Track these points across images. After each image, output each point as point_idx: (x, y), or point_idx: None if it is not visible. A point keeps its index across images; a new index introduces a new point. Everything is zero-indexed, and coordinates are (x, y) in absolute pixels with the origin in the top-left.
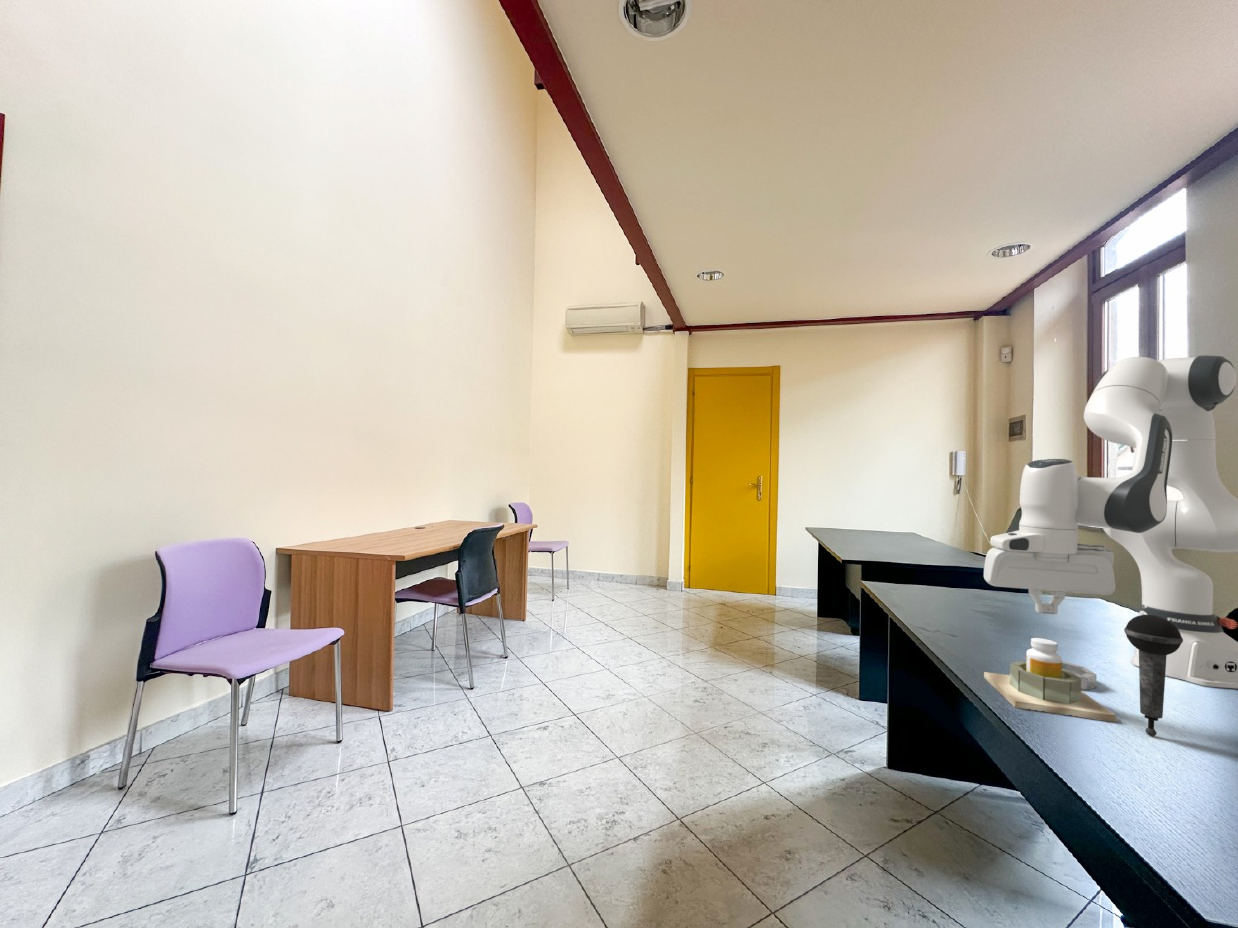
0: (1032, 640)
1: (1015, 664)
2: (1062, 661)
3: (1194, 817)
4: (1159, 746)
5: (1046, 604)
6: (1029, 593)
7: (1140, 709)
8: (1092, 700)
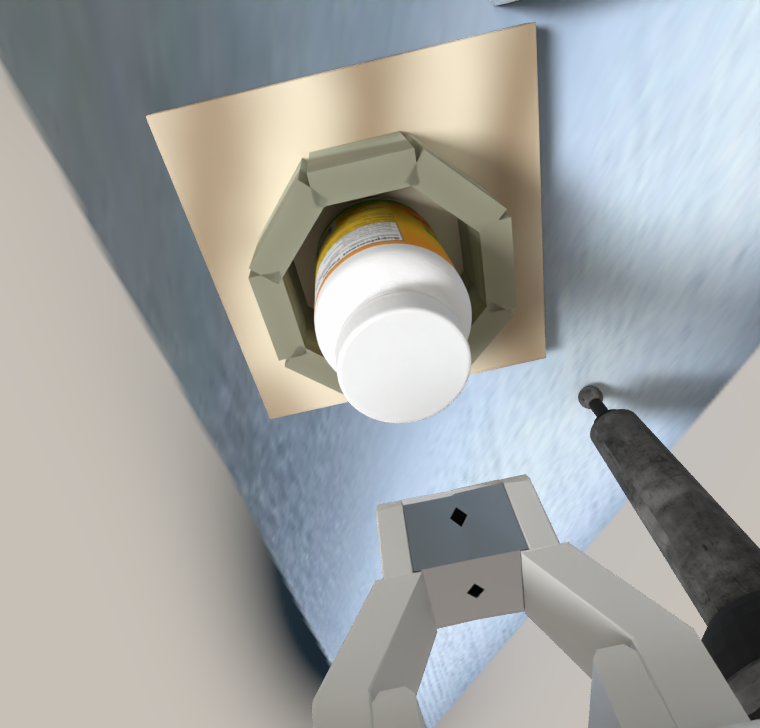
0: (340, 386)
1: (271, 271)
2: None
3: (470, 648)
4: (566, 445)
5: (468, 607)
6: (321, 701)
7: (594, 435)
8: (532, 248)
